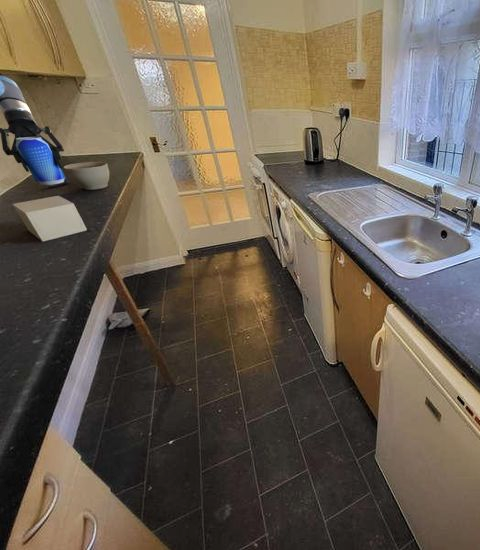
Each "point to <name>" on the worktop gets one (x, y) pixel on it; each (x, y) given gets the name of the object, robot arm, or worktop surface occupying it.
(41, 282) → the worktop surface
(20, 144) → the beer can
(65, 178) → the flask
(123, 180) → the worktop surface
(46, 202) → the white slanted wedge
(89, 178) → the planter bowl
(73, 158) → the worktop surface
